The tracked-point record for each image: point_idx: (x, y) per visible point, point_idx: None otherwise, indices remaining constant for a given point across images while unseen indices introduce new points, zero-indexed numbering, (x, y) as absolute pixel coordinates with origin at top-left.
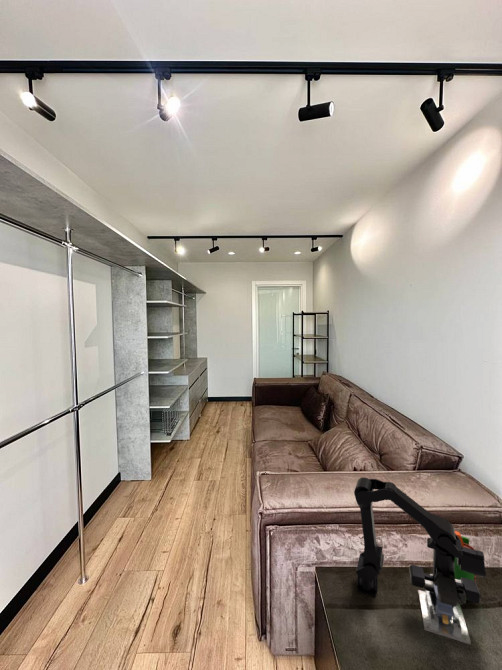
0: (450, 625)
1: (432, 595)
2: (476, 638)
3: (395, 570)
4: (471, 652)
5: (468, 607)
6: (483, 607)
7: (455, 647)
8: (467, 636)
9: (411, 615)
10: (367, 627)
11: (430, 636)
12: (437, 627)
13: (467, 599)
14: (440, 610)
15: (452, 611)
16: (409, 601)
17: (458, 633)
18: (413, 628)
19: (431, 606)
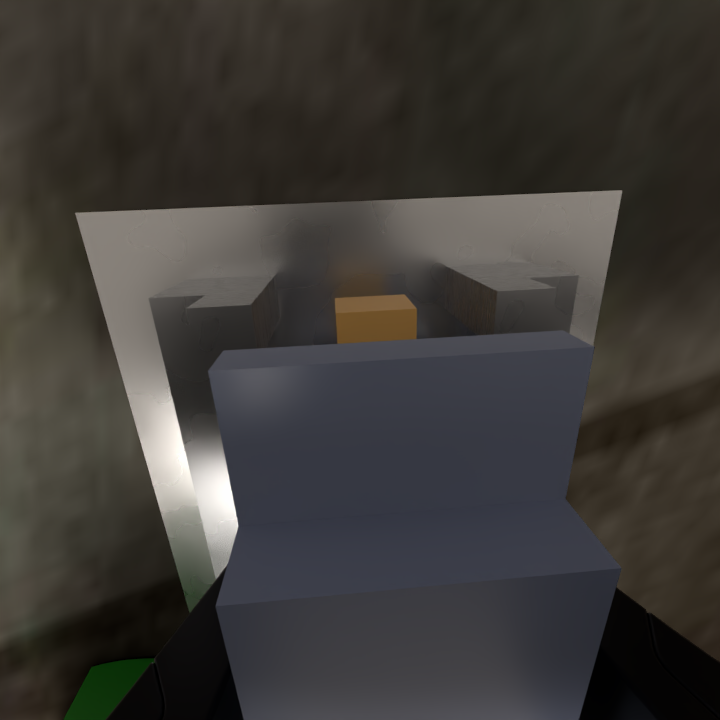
0: (301, 344)
1: (693, 674)
2: (44, 323)
3: None
4: (90, 100)
5: (125, 602)
6: (6, 647)
7: (275, 92)
8: (114, 272)
9: (677, 320)
10: None
11: (546, 128)
12: (460, 250)
13: (130, 663)
14: (540, 369)
15: (237, 460)
16: (641, 462)
17: (219, 270)
18: (717, 159)
19: None
